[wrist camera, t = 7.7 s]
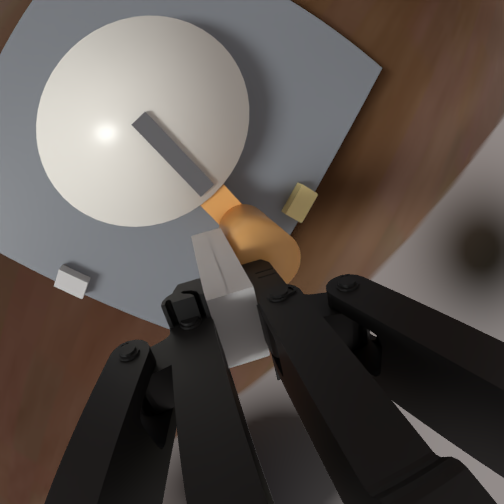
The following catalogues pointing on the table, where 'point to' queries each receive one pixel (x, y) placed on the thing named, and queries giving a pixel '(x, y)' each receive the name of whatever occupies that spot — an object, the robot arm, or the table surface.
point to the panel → (238, 183)
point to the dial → (154, 133)
